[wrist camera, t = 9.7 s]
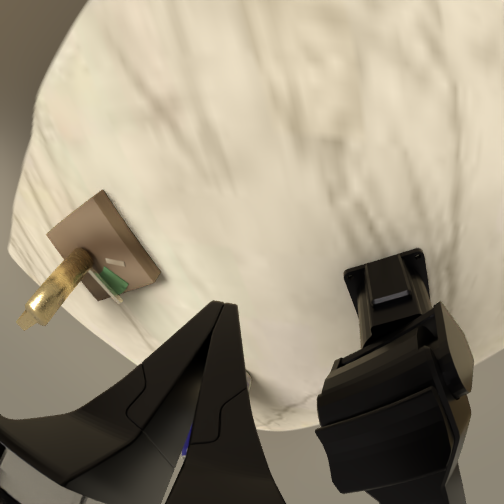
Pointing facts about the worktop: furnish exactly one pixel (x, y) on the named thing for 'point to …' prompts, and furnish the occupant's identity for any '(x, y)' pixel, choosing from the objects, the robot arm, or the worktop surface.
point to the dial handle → (61, 289)
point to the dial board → (105, 247)
